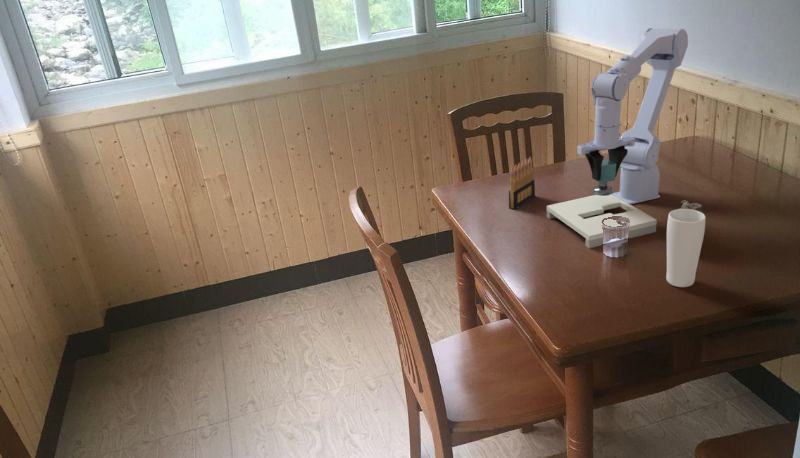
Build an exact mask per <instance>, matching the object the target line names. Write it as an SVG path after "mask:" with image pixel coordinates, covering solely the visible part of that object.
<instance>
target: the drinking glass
mask: <svg viewBox="0 0 800 458" xmlns="http://www.w3.org/2000/svg"><path fill="white" fill-rule="evenodd" d="M706 219H707V217H706V215H705V214H704V213H703V212H699V211H696V210H692V209H679V208H677V209H673V210H671V211H670V212H669V213H668V217H667V223H666V272H665V273H666V275H665V278H666V281H667V283H668V284H670V285H671V286H674V287H677V288H688V287H691V286H693V285H694V284H695V281H696V280H695V279H696V273H697V268H698V263H699V259H700V257H701V256H700V255H701V252H702V251H701V250H702V246H703V241H704V236H705V232H706V231H705V230H706Z"/></svg>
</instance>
